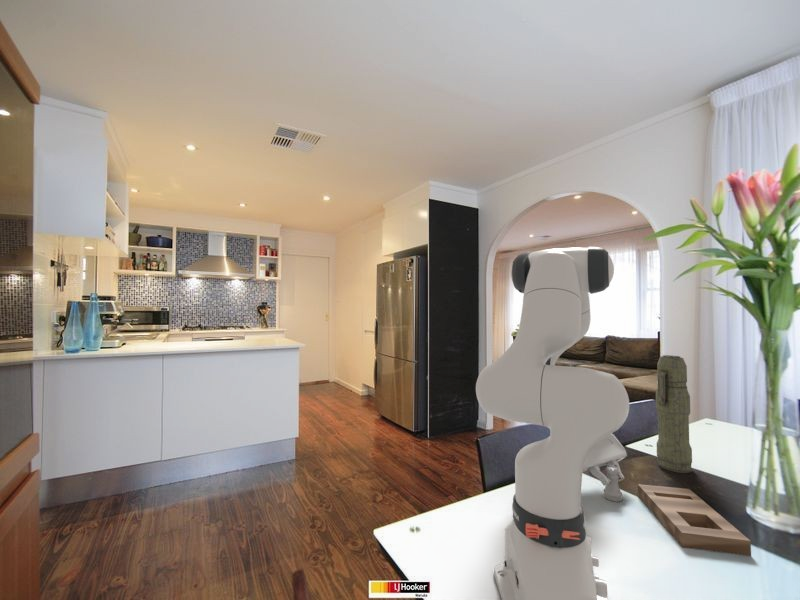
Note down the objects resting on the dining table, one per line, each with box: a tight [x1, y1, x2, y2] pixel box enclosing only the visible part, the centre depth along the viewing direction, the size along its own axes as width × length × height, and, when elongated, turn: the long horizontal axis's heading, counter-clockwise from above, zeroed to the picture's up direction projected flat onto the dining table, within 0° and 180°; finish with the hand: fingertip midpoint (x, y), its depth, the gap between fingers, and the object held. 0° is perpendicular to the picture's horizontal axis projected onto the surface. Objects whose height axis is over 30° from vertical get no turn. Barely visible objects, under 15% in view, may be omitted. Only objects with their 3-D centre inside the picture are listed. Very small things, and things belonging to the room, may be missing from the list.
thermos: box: [655, 354, 693, 474], centre depth 115 cm, size 9×12×35 cm
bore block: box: [637, 483, 752, 557], centre depth 84 cm, size 22×12×3 cm, turn 167°
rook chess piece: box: [602, 465, 623, 503], centre depth 95 cm, size 4×4×8 cm
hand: (614, 482), depth 95 cm, fingers open, 4 cm apart
